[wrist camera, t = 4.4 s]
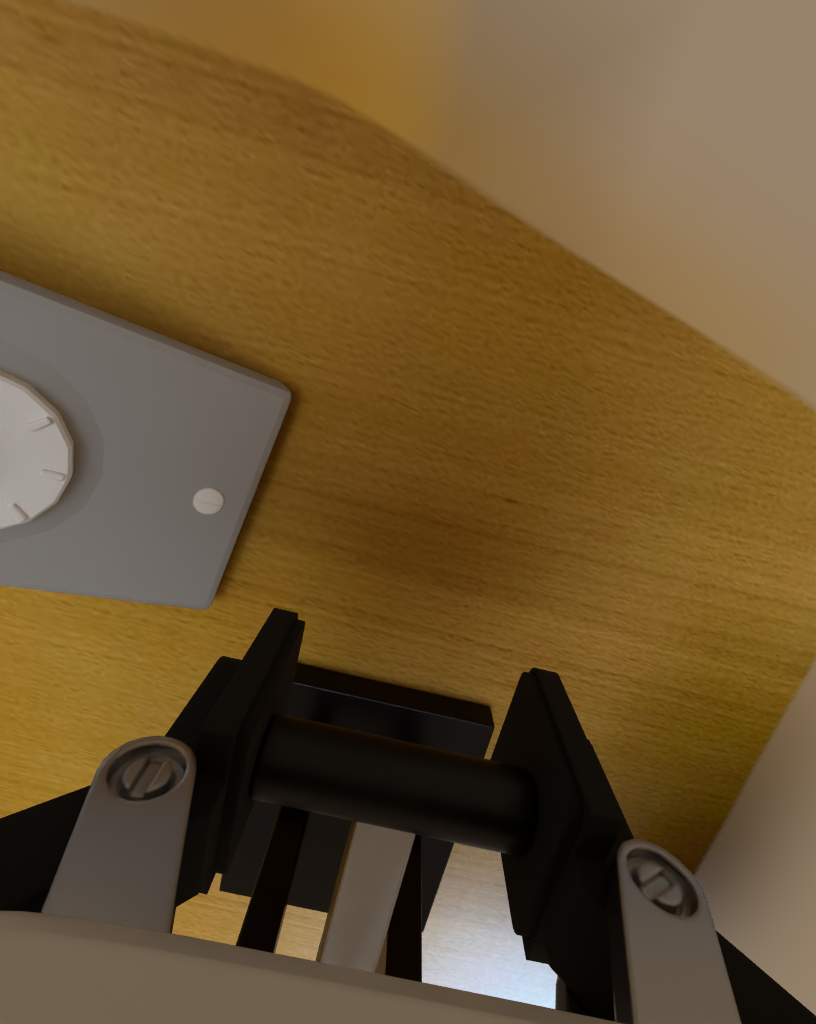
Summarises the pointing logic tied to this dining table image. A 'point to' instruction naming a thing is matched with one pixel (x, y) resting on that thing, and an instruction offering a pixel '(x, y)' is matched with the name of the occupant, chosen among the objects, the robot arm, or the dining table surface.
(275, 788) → the switch lever
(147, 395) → the light switch
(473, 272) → the dining table surface
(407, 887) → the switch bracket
